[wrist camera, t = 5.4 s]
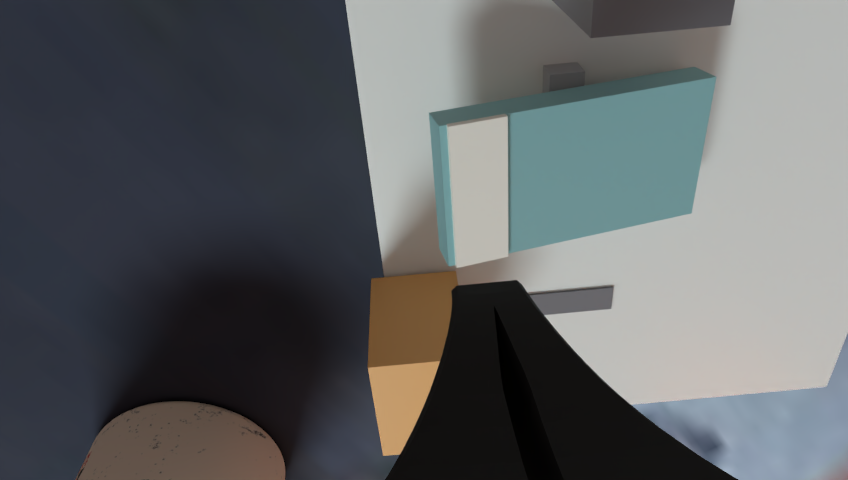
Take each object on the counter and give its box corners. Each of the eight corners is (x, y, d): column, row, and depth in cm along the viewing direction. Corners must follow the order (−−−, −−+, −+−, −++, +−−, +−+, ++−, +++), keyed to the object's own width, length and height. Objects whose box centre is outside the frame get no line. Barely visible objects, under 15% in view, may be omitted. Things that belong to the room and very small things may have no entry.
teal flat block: (694, 66, 18) (720, 78, 17) (672, 198, 20) (694, 215, 19) (428, 112, 17) (440, 128, 16) (439, 248, 19) (450, 269, 18)
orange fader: (455, 270, 22) (469, 358, 18) (461, 353, 24) (474, 447, 20) (371, 278, 22) (367, 367, 18) (384, 361, 24) (383, 455, 20)
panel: (1082, -387, 14) (1179, -419, 13) (810, 366, 27) (839, 402, 26) (305, -314, 14) (293, -335, 13) (404, 403, 27) (405, 442, 26)
